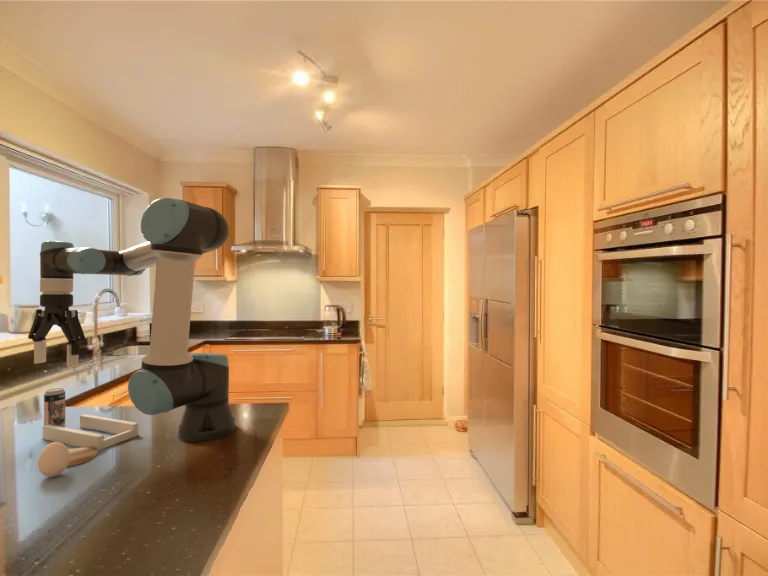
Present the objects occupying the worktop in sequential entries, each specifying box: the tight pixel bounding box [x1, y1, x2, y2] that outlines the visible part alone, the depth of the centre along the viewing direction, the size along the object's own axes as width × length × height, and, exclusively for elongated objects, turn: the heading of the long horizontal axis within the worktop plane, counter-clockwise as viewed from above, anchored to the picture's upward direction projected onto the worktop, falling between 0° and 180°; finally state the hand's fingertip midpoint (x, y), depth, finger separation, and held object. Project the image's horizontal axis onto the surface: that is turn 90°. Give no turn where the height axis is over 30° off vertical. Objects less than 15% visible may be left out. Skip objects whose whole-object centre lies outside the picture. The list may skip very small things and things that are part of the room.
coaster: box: [66, 447, 98, 468], centre depth 93 cm, size 10×10×1 cm
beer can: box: [43, 387, 66, 428], centre depth 113 cm, size 5×5×12 cm
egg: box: [37, 441, 70, 478], centre depth 85 cm, size 5×5×8 cm
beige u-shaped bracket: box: [42, 413, 139, 451], centre depth 107 cm, size 23×11×4 cm, turn 70°
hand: (56, 364), depth 113 cm, fingers open, 13 cm apart
